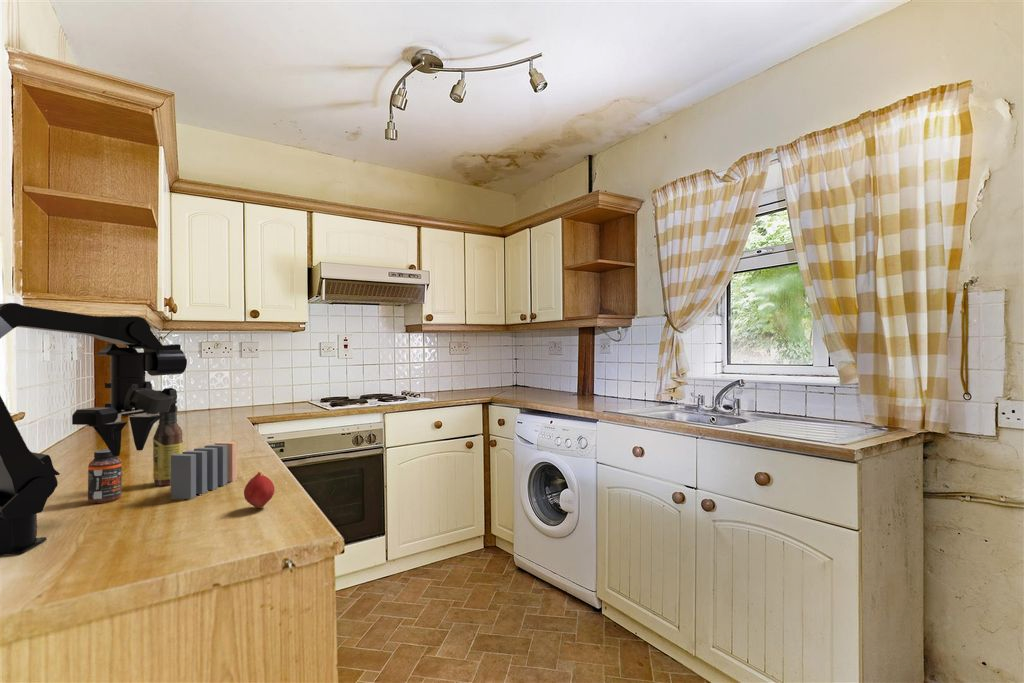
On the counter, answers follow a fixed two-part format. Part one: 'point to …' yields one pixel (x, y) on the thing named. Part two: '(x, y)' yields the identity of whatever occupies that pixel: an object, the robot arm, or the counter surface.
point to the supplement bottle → (104, 477)
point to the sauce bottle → (166, 447)
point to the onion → (259, 490)
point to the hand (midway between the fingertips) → (128, 453)
